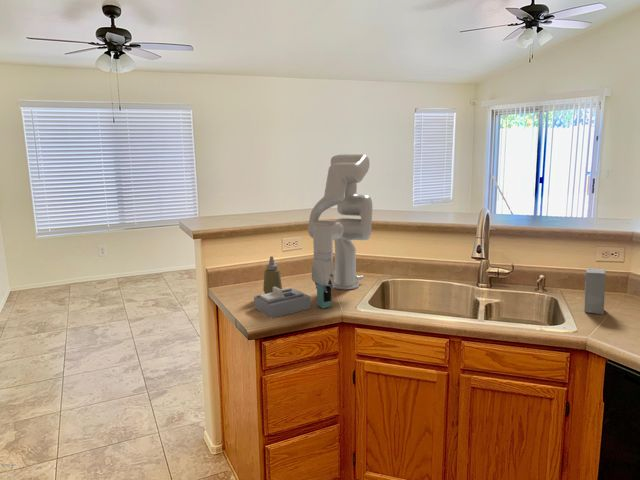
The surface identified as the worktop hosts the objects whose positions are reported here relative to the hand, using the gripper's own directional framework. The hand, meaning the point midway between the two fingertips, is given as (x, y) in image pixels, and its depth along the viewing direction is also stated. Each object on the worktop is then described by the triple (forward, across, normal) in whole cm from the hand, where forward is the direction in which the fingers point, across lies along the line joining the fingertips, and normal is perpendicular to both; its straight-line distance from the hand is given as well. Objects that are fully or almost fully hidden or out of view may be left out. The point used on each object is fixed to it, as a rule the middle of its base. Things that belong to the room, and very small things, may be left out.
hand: (324, 299), depth 187 cm
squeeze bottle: (+3, -24, -10) cm, 26 cm away
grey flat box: (+3, -9, -14) cm, 17 cm away
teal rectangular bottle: (+3, 0, 0) cm, 3 cm away
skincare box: (+4, +66, +80) cm, 104 cm away
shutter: (-2, -9, -19) cm, 21 cm away
